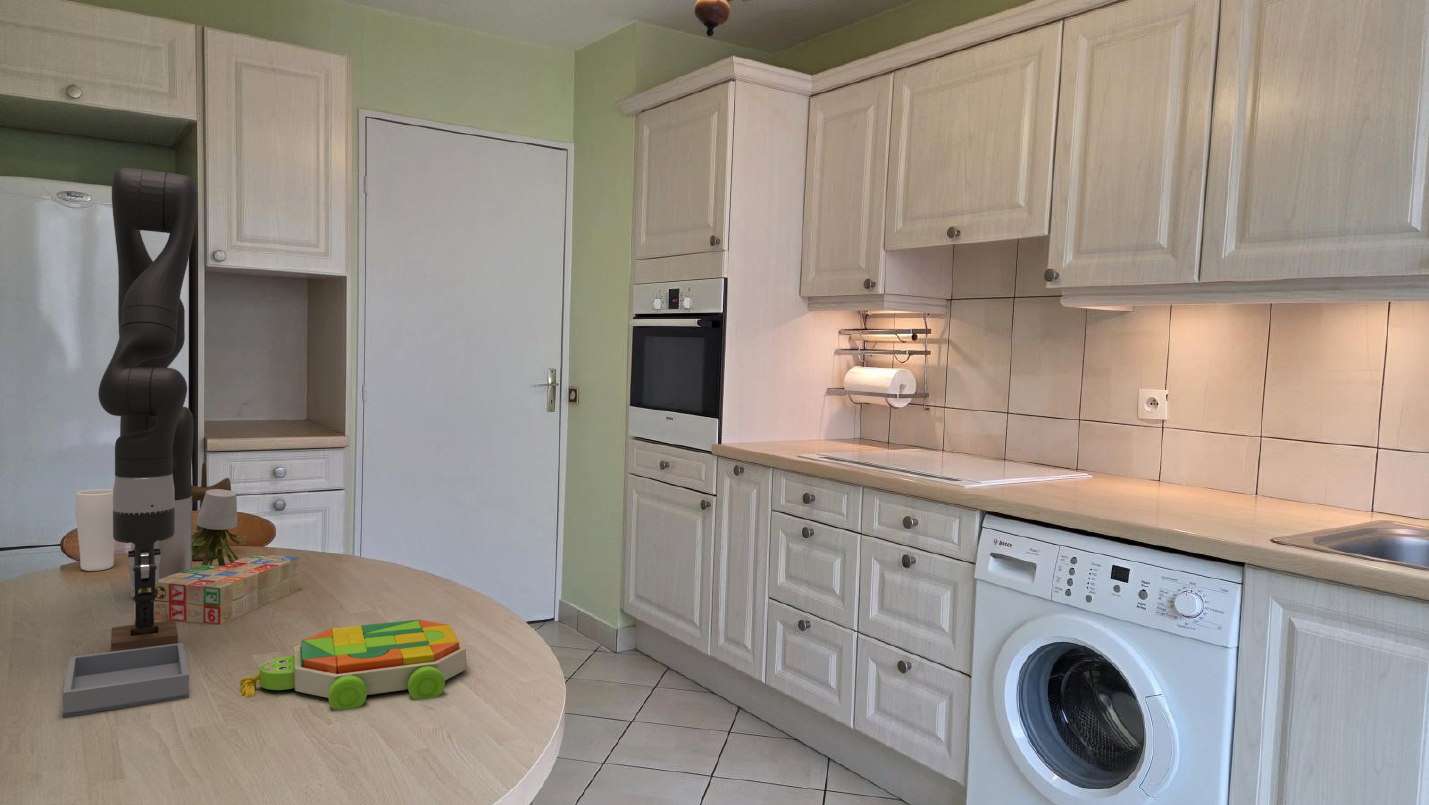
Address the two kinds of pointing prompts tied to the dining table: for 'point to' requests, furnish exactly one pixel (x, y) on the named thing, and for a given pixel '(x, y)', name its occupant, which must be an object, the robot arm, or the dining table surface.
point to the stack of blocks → (226, 589)
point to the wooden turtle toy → (367, 663)
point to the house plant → (216, 525)
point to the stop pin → (136, 631)
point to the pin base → (143, 636)
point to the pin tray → (125, 679)
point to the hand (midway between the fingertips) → (144, 623)
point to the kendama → (198, 495)
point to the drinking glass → (95, 529)
